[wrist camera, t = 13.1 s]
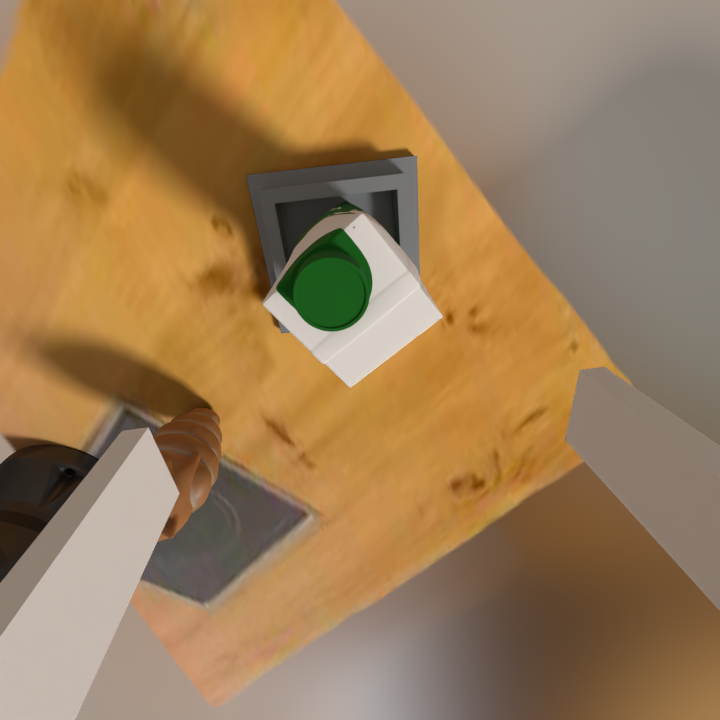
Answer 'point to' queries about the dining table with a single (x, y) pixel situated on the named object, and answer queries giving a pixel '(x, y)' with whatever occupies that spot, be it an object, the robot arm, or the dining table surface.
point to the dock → (334, 204)
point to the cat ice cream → (190, 461)
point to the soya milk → (351, 294)
